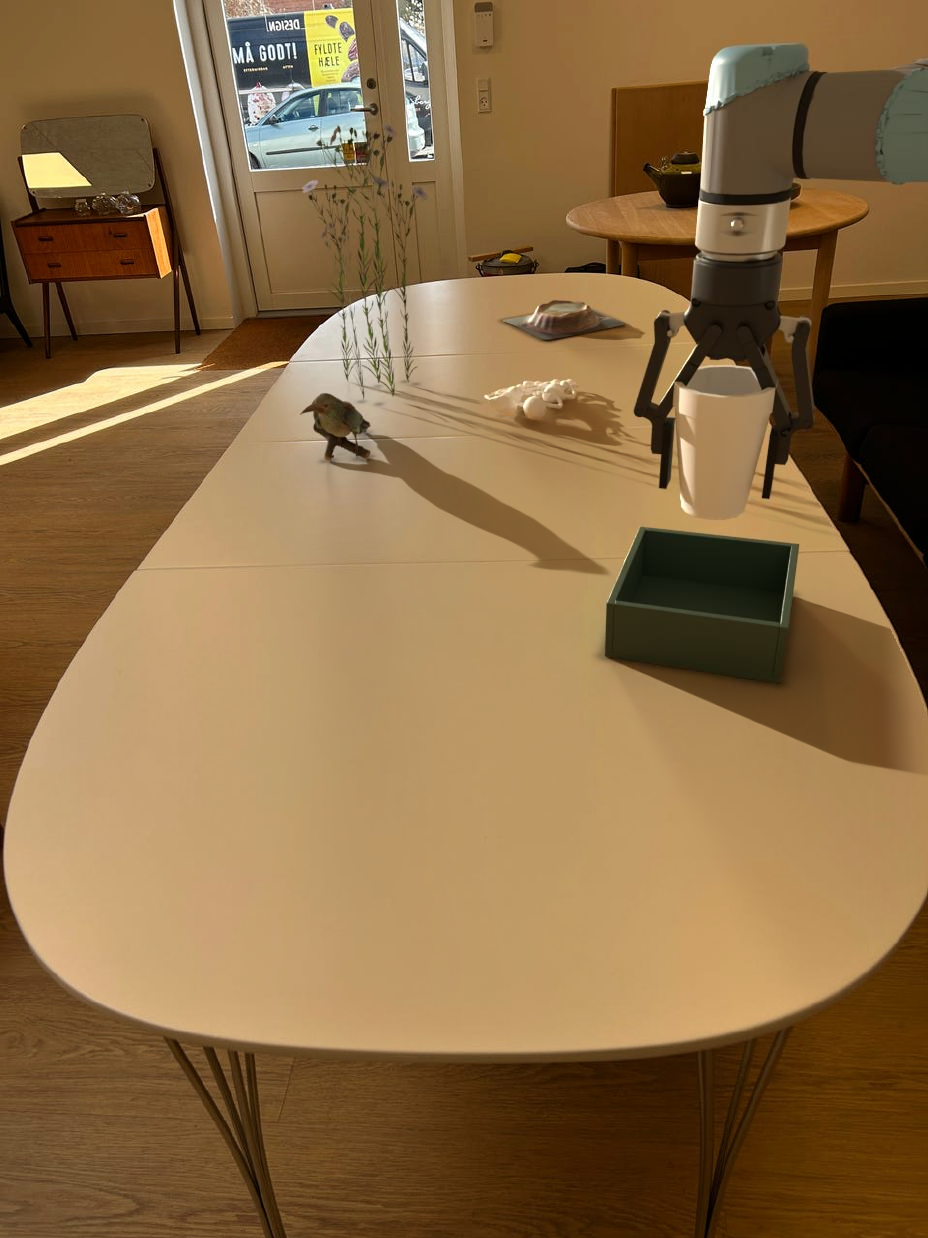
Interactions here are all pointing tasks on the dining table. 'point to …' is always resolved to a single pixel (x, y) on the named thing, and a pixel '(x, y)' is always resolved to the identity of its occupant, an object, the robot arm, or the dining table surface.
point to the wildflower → (380, 184)
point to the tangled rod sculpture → (532, 405)
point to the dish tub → (703, 603)
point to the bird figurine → (338, 424)
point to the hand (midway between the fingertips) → (714, 487)
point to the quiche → (563, 320)
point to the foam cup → (719, 438)
